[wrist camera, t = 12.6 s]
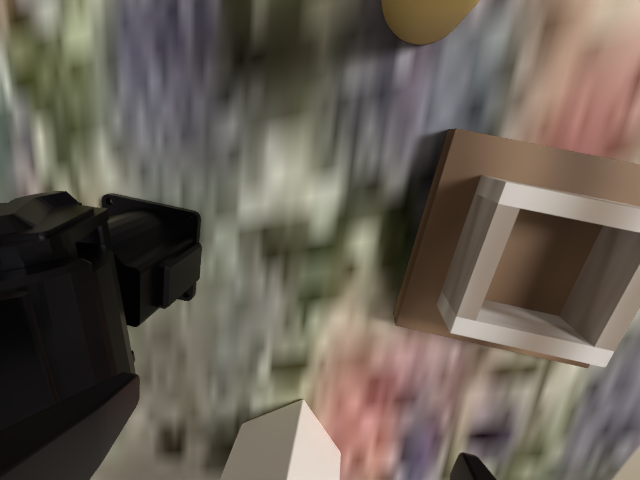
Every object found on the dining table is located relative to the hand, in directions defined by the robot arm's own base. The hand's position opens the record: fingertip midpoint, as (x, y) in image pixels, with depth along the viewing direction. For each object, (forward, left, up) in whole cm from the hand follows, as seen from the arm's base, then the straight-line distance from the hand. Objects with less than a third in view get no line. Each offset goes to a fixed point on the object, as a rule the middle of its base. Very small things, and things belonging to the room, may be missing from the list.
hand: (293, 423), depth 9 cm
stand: (+11, +3, -13) cm, 17 cm away
